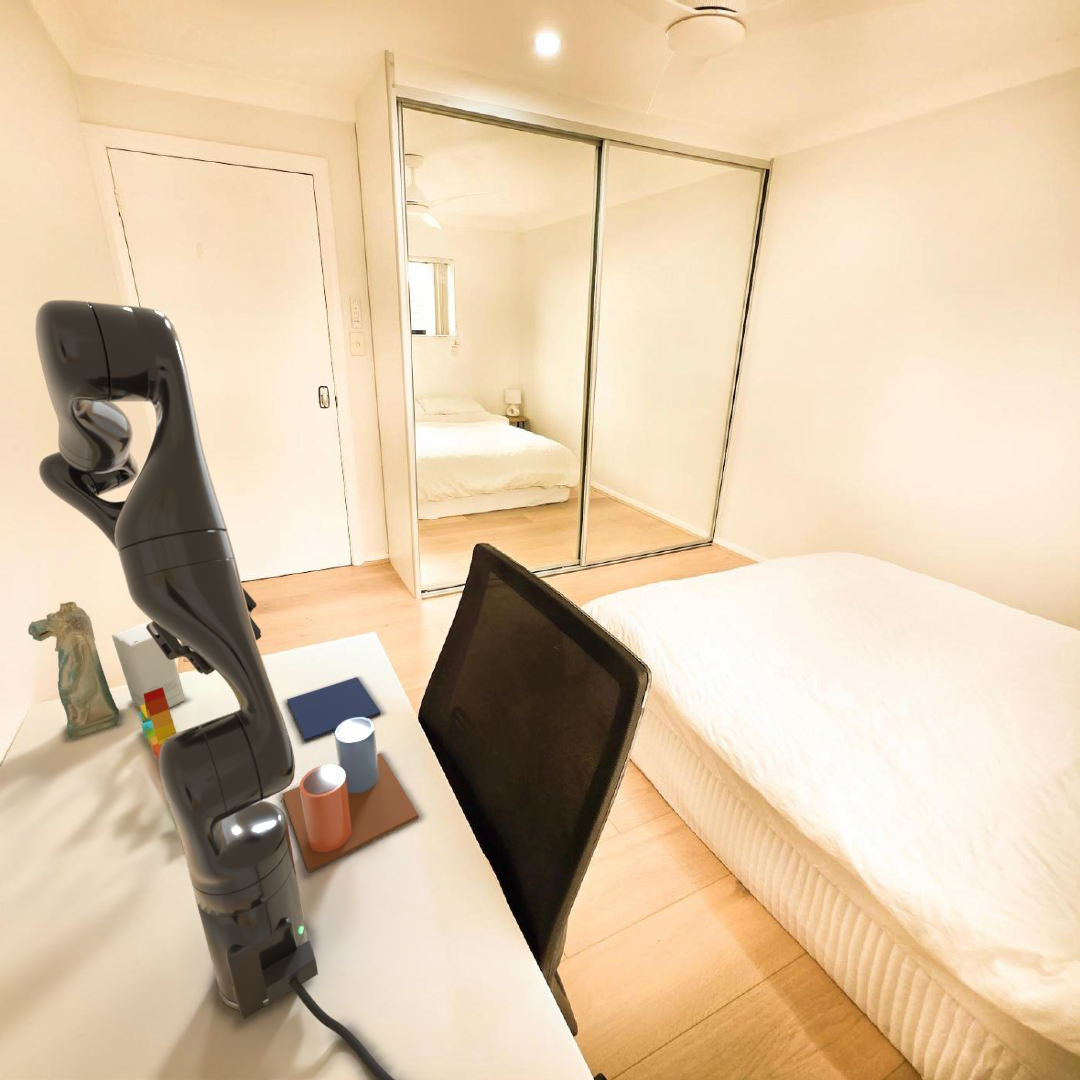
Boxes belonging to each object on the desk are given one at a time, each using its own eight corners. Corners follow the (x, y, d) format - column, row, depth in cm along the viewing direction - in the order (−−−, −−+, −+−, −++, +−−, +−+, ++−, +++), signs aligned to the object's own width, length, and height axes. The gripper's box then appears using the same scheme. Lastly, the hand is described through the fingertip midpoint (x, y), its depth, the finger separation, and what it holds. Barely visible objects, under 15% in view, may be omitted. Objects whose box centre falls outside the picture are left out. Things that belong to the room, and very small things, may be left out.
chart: (220, 820, 80) (202, 738, 75) (196, 833, 77) (175, 750, 72) (164, 725, 99) (146, 655, 94) (143, 733, 97) (124, 662, 92)
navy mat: (380, 713, 104) (380, 711, 103) (305, 741, 96) (304, 739, 96) (357, 679, 114) (357, 676, 114) (287, 701, 106) (287, 699, 106)
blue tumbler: (384, 782, 86) (380, 732, 83) (347, 799, 83) (341, 747, 80) (371, 760, 91) (367, 712, 88) (335, 775, 88) (329, 725, 84)
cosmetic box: (186, 700, 106) (170, 631, 100) (149, 718, 100) (130, 646, 95) (165, 686, 110) (149, 619, 105) (128, 702, 105) (109, 633, 99)
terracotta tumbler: (357, 838, 76) (351, 784, 73) (314, 860, 73) (305, 804, 70) (344, 811, 81) (338, 758, 78) (303, 829, 78) (294, 775, 74)
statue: (60, 727, 97) (20, 605, 89) (117, 707, 103) (84, 591, 95) (65, 746, 93) (23, 619, 85) (124, 724, 99) (90, 603, 90)
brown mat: (418, 817, 81) (418, 814, 81) (308, 872, 72) (308, 869, 72) (381, 755, 93) (380, 752, 93) (282, 796, 84) (282, 793, 84)
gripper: (131, 580, 70) (208, 677, 73) (220, 538, 82) (283, 623, 85) (106, 599, 73) (181, 691, 76) (196, 556, 85) (257, 636, 89)
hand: (235, 655), depth 81 cm, fingers open, 8 cm apart
